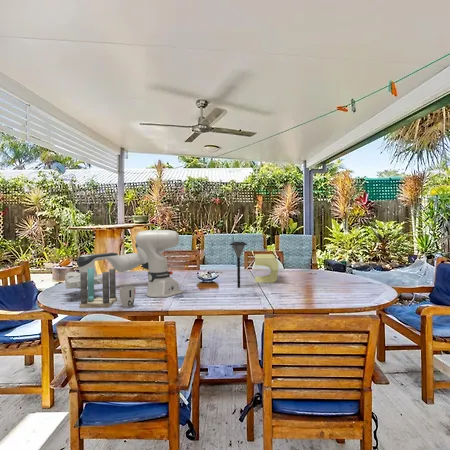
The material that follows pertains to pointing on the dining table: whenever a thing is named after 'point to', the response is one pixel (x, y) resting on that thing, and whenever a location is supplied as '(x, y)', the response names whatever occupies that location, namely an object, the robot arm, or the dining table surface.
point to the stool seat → (105, 300)
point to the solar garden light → (238, 257)
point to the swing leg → (90, 284)
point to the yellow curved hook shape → (267, 261)
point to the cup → (127, 296)
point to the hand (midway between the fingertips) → (91, 283)
